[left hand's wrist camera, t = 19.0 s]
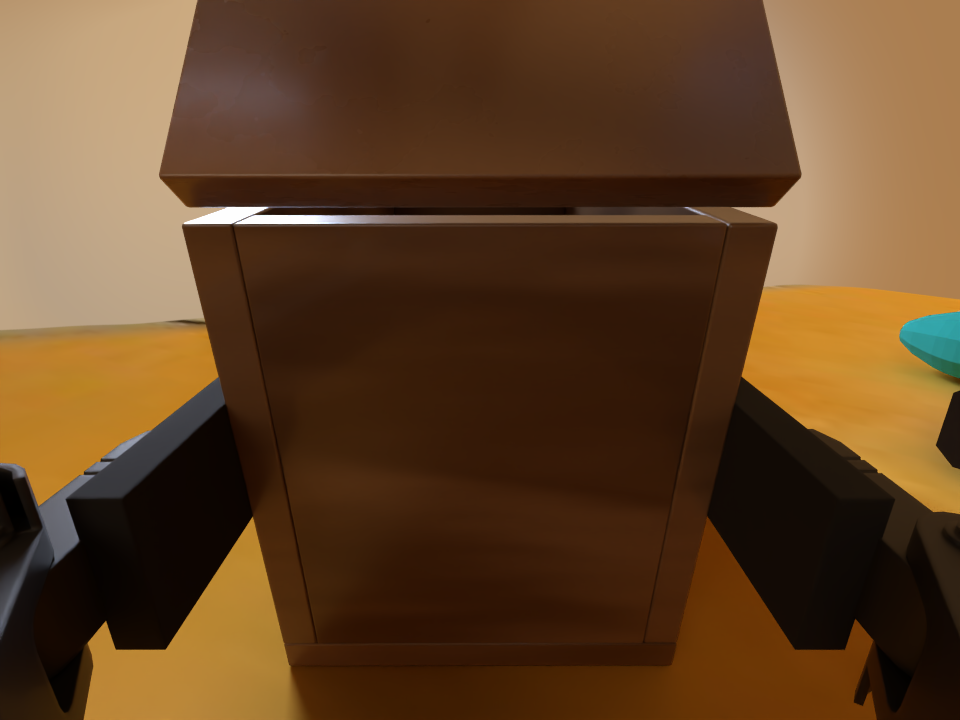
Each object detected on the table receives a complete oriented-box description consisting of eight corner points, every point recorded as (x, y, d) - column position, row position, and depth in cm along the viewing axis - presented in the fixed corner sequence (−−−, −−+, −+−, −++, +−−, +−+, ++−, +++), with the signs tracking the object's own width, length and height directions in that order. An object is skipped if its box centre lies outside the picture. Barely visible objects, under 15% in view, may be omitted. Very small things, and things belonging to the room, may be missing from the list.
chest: (392, 369, 28) (374, 155, 23) (567, 368, 28) (584, 155, 23) (288, 666, 13) (179, 223, 8) (672, 666, 13) (781, 223, 8)
